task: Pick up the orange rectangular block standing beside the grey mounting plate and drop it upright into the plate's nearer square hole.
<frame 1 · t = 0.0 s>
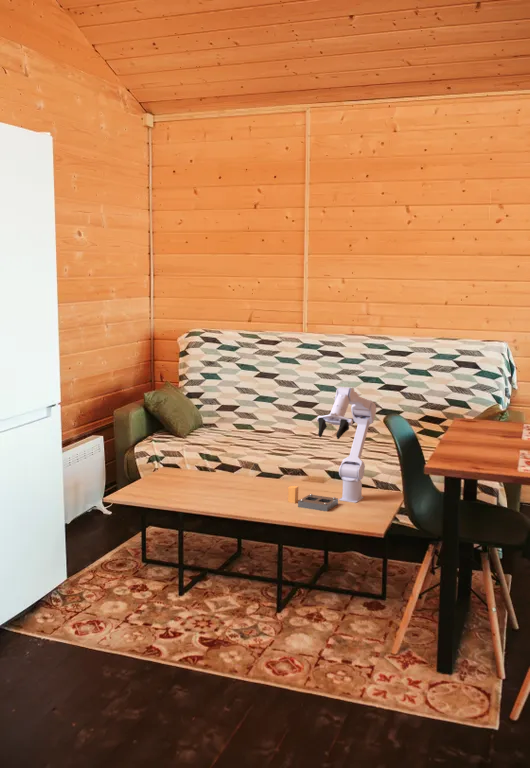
hand: (328, 436, 305), 32 cm above the table, tool tilted 50°, fingers open, 7 cm apart
grey mounting plate: (318, 505, 323), on the table
orange rectangular block: (293, 501, 328), on the table
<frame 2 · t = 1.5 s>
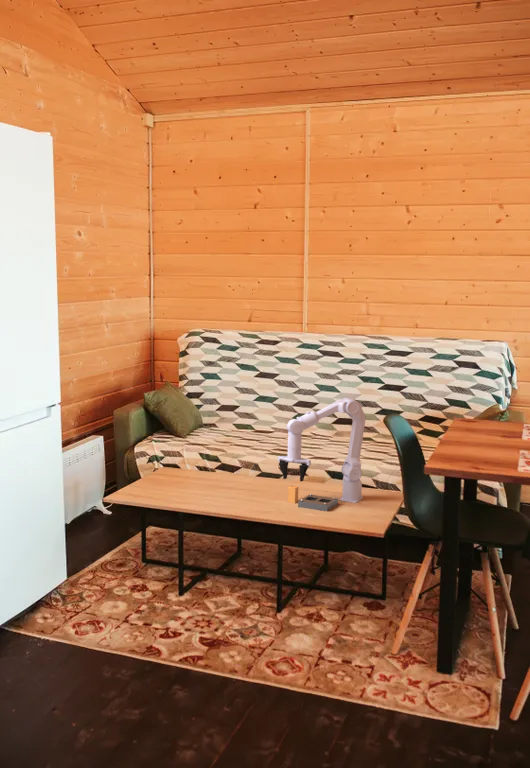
hand: (293, 479, 327), 10 cm above the table, tool pointing down, fingers open, 7 cm apart
nothing on the table moved.
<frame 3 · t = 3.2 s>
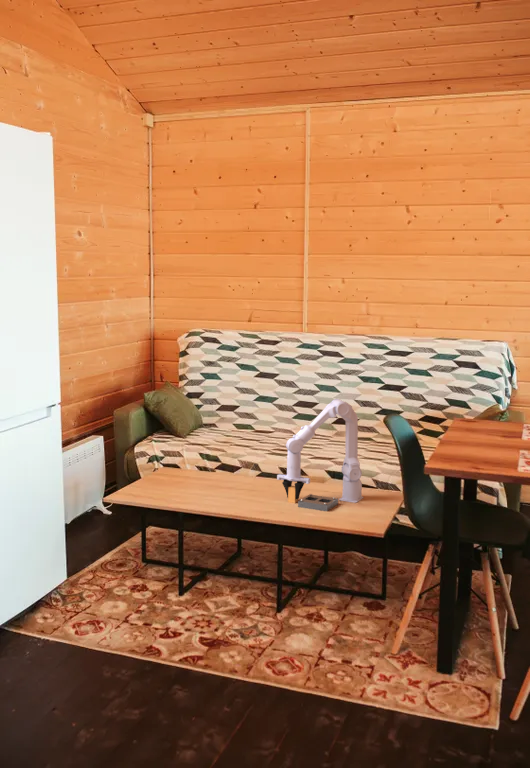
hand: (293, 498, 328), 2 cm above the table, tool pointing down, fingers closed on orange rectangular block, 3 cm apart
orange rectangular block: (293, 501, 328), on the table, touching gripper
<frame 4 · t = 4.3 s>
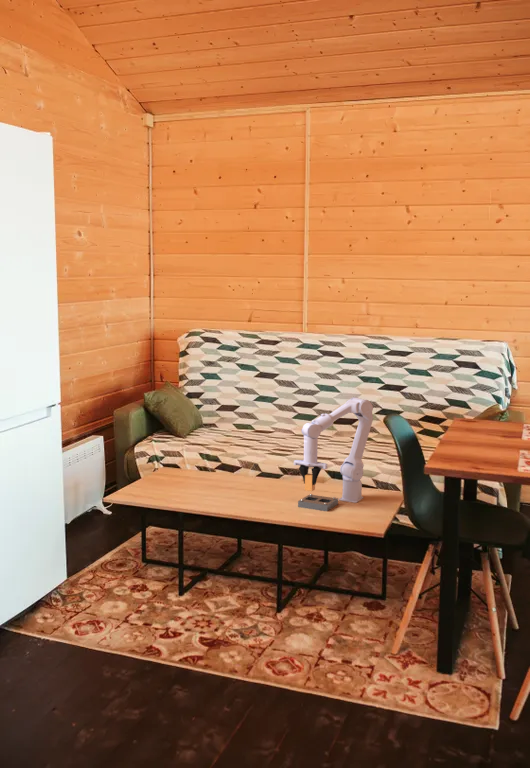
hand: (309, 483, 324), 9 cm above the table, tool pointing down, fingers closed on orange rectangular block, 3 cm apart
orange rectangular block: (309, 489, 324), point 6 cm above the table, touching gripper
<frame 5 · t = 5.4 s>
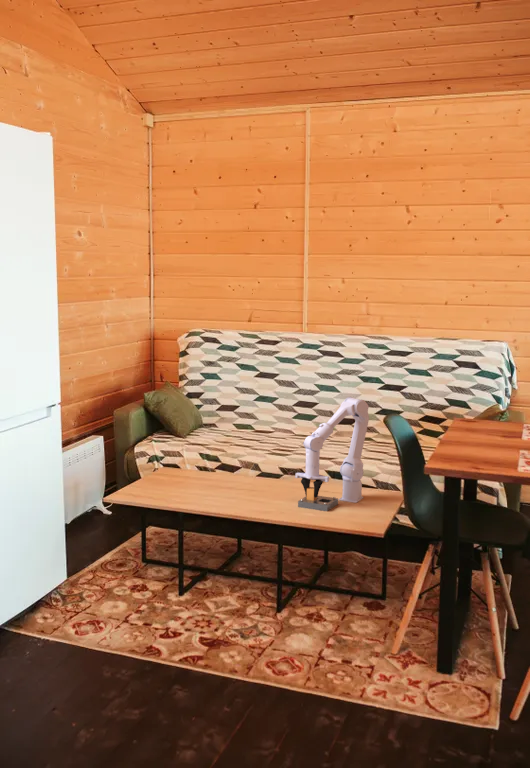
hand: (311, 496, 324), 3 cm above the table, tool pointing down, fingers closed on orange rectangular block, 3 cm apart
orange rectangular block: (311, 503, 325), point 1 cm above the table, touching gripper
when the fingers open (3 cm above the table, at t = 5.8 s): orange rectangular block stays where it is, resting in grey mounting plate.
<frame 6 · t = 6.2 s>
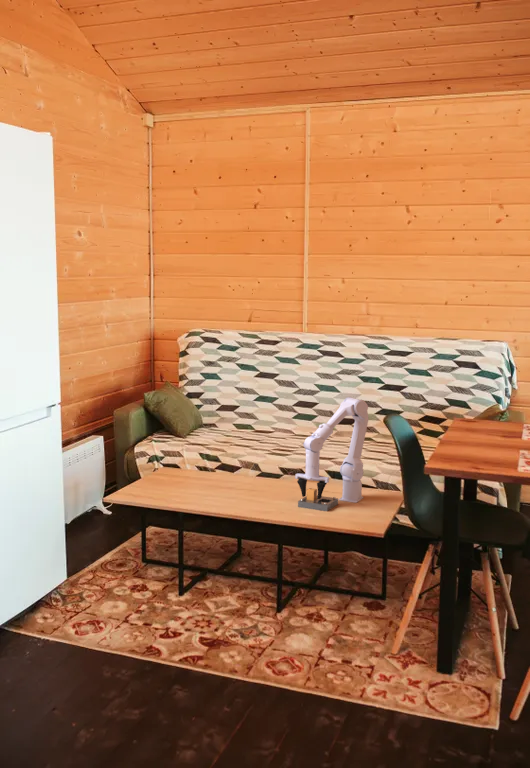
hand: (311, 497, 324), 3 cm above the table, tool pointing down, fingers open, 6 cm apart
orange rectangular block: (311, 504, 325), resting in grey mounting plate
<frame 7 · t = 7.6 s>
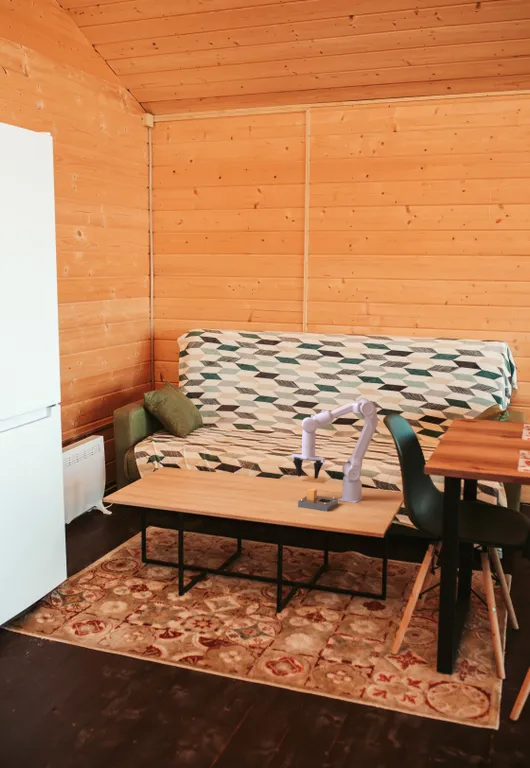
hand: (307, 477, 331), 10 cm above the table, tool pointing down, fingers open, 7 cm apart
nothing on the table moved.
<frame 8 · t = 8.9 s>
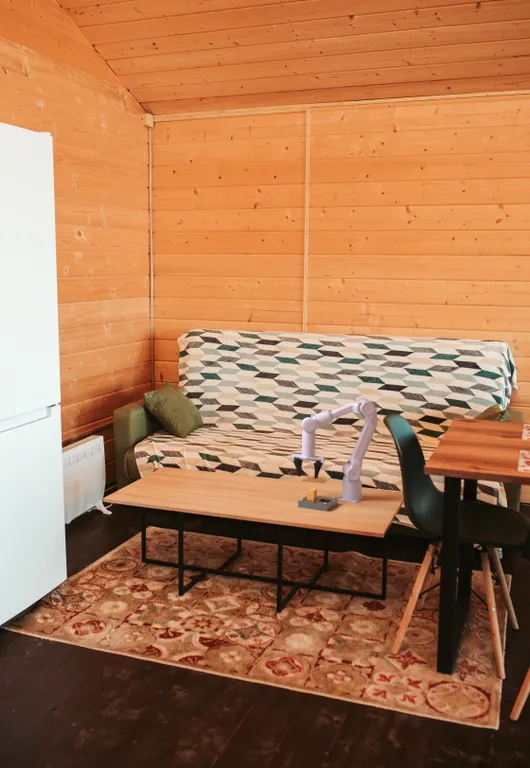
hand: (307, 477, 331), 10 cm above the table, tool pointing down, fingers open, 7 cm apart
nothing on the table moved.
at the end: orange rectangular block 0.1 cm from the target spot on the grey mounting plate, point 0.0 cm above the grey mounting plate's base; orange rectangular block tilted 0°; the gripper is holding nothing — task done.
